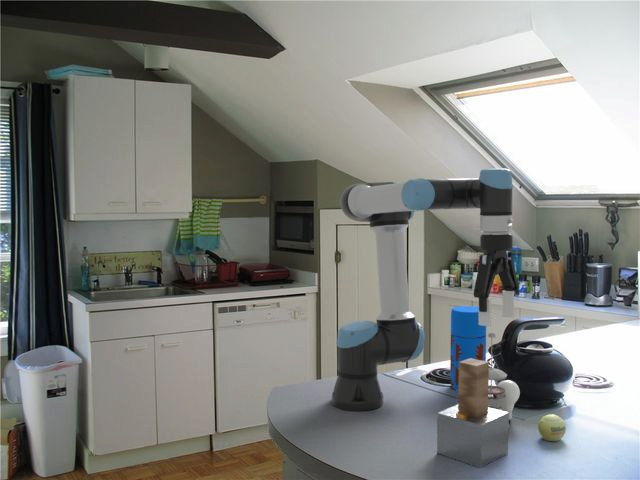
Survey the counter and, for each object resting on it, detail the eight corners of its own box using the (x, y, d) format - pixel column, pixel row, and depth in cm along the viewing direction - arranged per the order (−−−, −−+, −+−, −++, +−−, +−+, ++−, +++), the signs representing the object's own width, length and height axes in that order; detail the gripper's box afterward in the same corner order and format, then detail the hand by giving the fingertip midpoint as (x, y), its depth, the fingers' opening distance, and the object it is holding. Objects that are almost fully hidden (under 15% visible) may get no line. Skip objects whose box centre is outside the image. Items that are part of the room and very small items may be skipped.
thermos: (483, 383, 224) (484, 306, 222) (487, 393, 214) (489, 312, 211) (448, 382, 225) (449, 305, 223) (451, 392, 215) (452, 312, 213)
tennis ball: (547, 418, 172) (570, 415, 174) (531, 413, 179) (554, 410, 181) (548, 444, 172) (572, 441, 174) (533, 438, 178) (556, 435, 180)
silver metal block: (437, 453, 167) (437, 408, 166) (465, 440, 176) (465, 397, 175) (480, 468, 159) (481, 420, 158) (507, 453, 167) (508, 408, 166)
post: (457, 452, 167) (458, 362, 165) (469, 446, 171) (470, 358, 169) (475, 458, 164) (477, 366, 162) (487, 452, 167) (488, 361, 165)
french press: (503, 434, 180) (504, 338, 178) (460, 425, 186) (460, 333, 184) (514, 422, 188) (516, 331, 186) (473, 415, 194) (473, 326, 192)
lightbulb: (519, 417, 192) (520, 378, 191) (518, 425, 186) (519, 384, 185) (495, 415, 194) (496, 376, 193) (494, 422, 188) (495, 382, 187)
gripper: (488, 236, 156) (489, 330, 157) (531, 231, 175) (531, 315, 177) (458, 235, 160) (459, 327, 162) (502, 230, 180) (503, 312, 181)
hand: (496, 321), depth 169 cm, fingers open, 13 cm apart
